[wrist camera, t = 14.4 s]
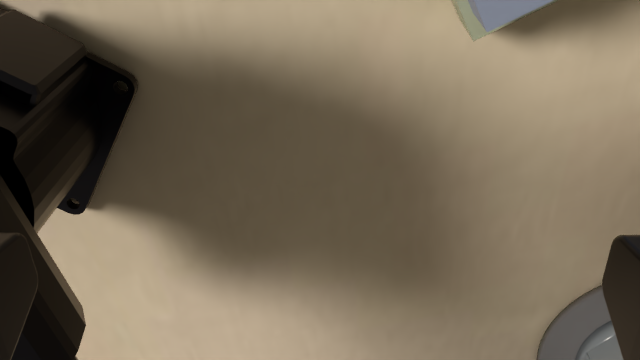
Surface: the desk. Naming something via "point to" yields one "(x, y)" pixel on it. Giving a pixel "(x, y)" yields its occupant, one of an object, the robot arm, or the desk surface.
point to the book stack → (494, 13)
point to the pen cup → (600, 345)
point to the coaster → (574, 326)
